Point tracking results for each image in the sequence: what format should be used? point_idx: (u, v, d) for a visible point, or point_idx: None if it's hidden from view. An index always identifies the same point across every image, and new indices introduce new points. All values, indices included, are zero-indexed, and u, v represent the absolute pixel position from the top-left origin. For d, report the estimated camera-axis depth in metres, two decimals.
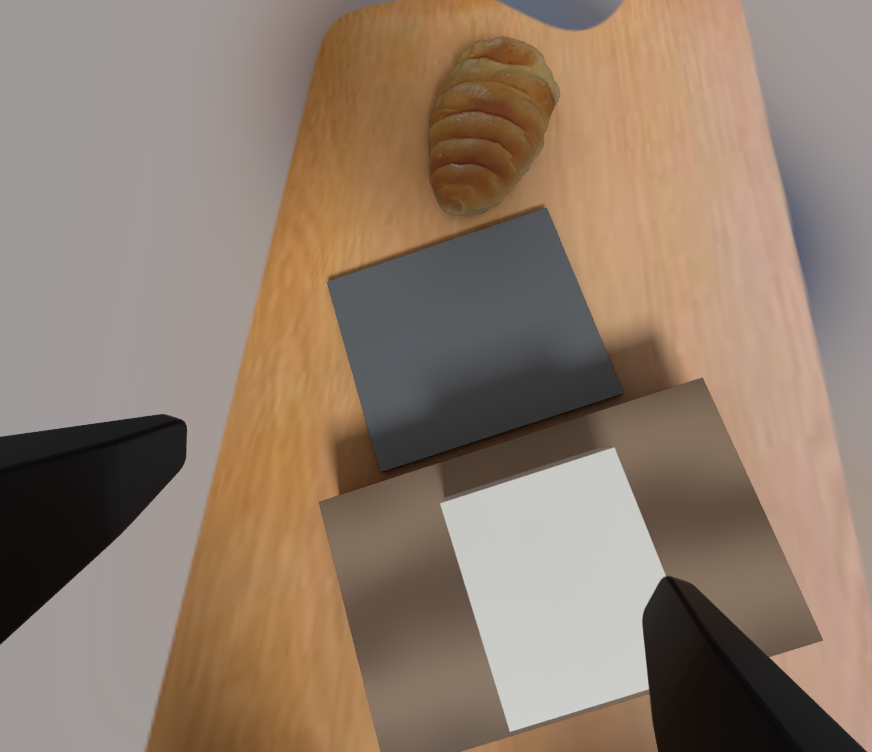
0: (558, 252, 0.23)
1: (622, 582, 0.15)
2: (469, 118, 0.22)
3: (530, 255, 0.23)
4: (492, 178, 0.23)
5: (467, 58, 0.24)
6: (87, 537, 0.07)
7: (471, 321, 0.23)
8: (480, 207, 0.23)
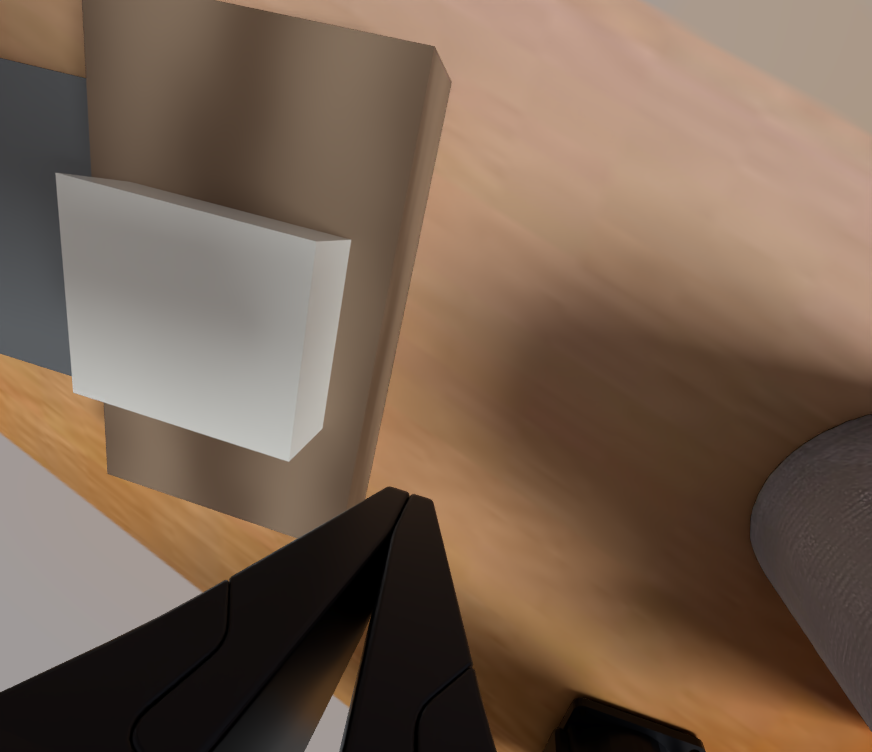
0: None
1: (198, 266, 0.12)
2: None
3: None
4: None
5: None
6: (356, 634, 0.06)
7: (18, 219, 0.19)
8: None
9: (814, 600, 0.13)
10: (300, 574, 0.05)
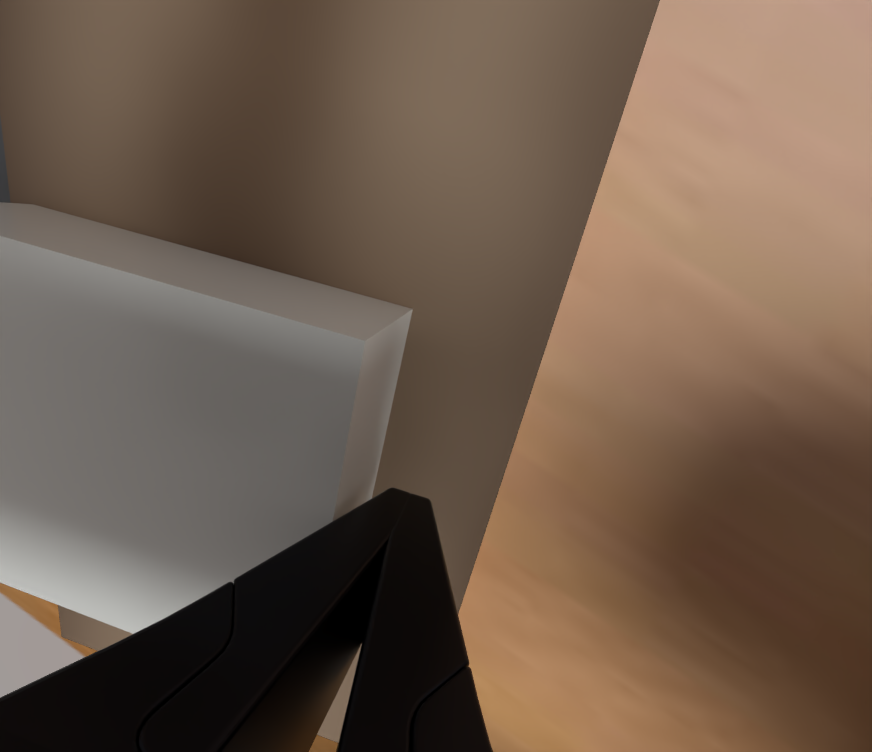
0: None
1: (130, 376, 0.06)
2: None
3: None
4: None
5: None
6: (359, 635, 0.06)
7: None
8: None
9: None
10: (304, 575, 0.05)
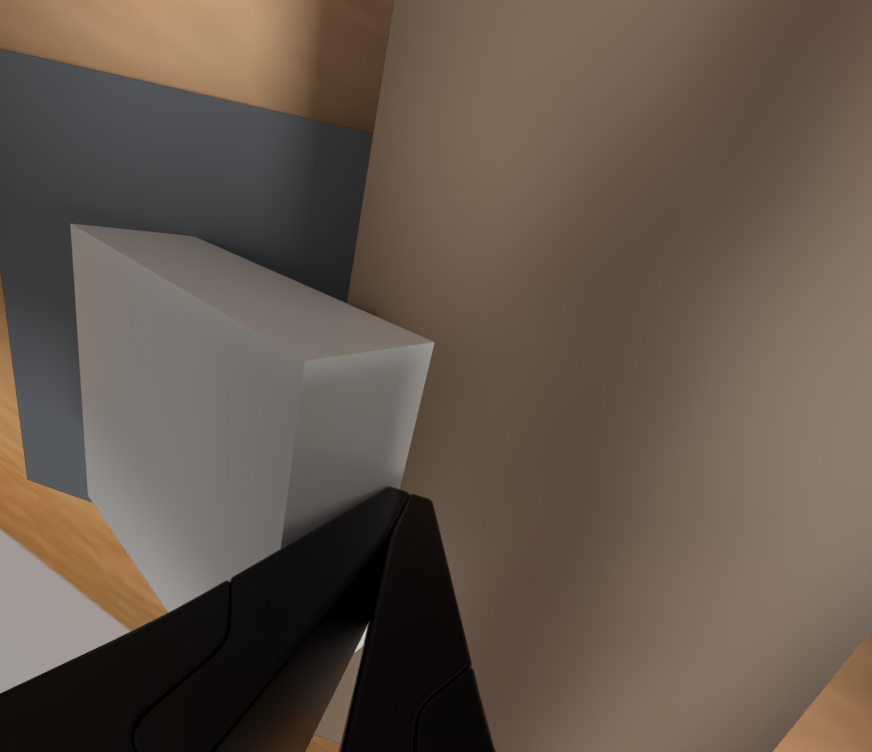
0: (68, 80, 0.10)
1: (168, 371, 0.07)
2: None
3: (60, 144, 0.11)
4: None
5: None
6: (356, 634, 0.06)
7: None
8: None
9: None
10: (301, 574, 0.05)
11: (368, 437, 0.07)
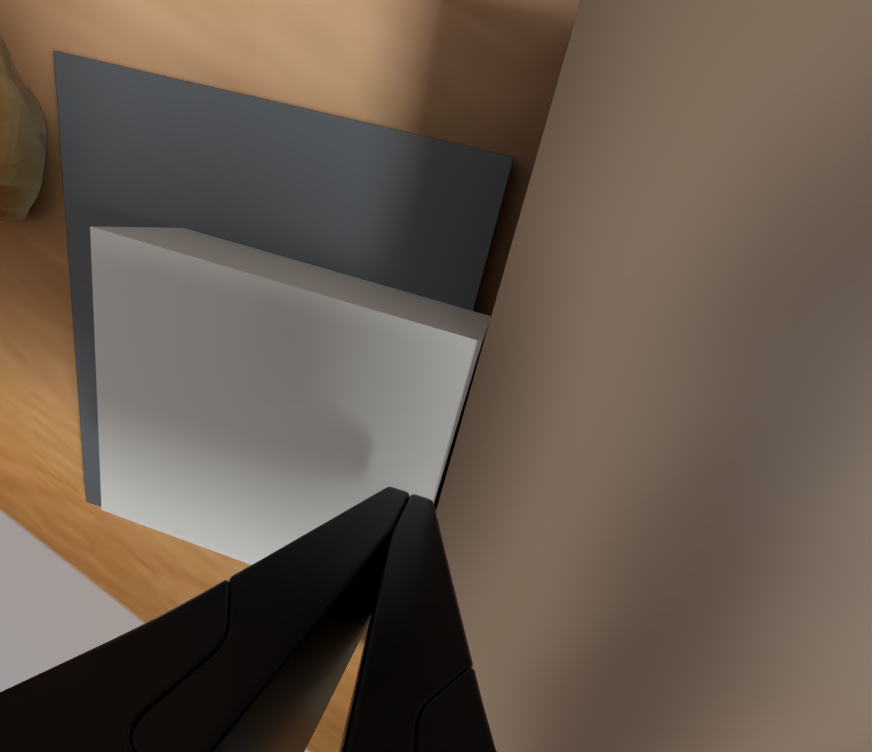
0: (158, 92, 0.10)
1: (294, 364, 0.09)
2: None
3: (145, 158, 0.10)
4: None
5: None
6: (355, 634, 0.06)
7: None
8: (9, 143, 0.10)
9: None
10: (300, 574, 0.05)
11: (469, 388, 0.09)
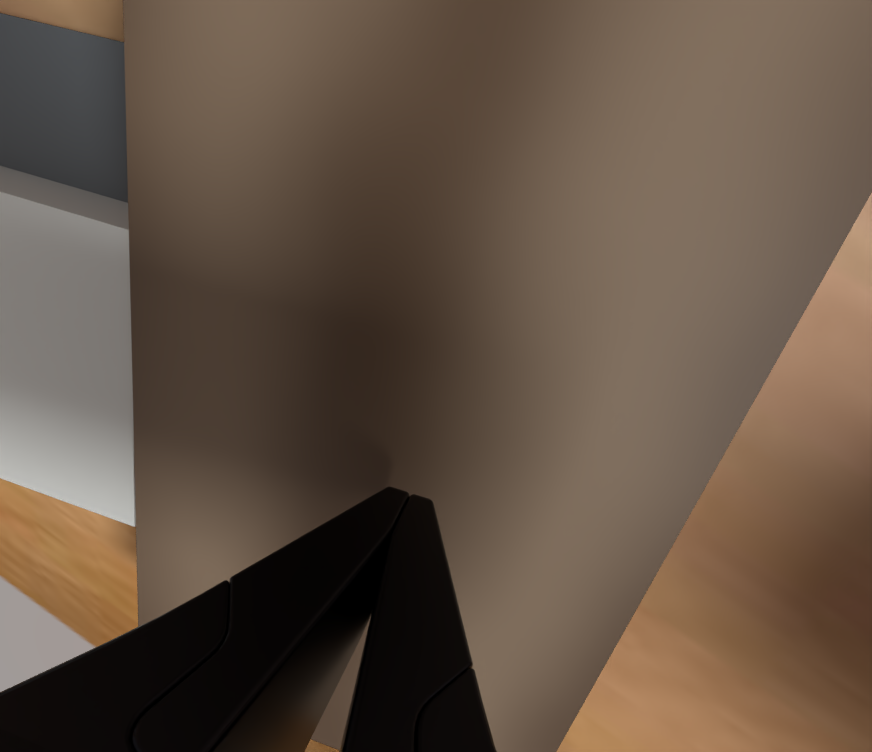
0: None
1: None
2: None
3: None
4: None
5: None
6: (356, 634, 0.06)
7: None
8: None
9: None
10: (300, 574, 0.05)
11: None
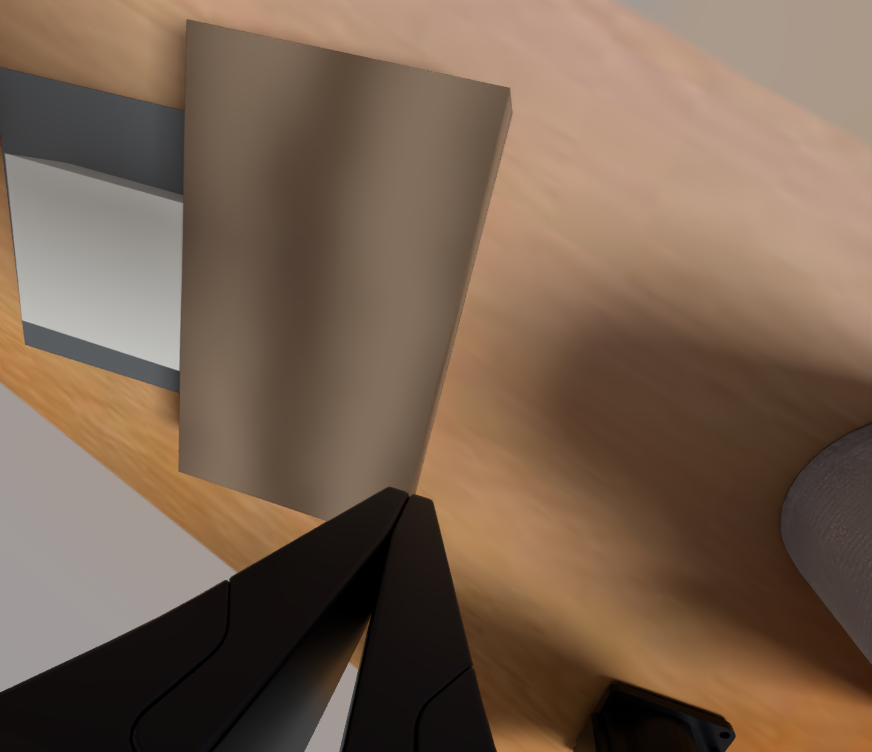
0: (47, 87, 0.19)
1: (106, 222, 0.17)
2: None
3: (43, 123, 0.19)
4: None
5: None
6: (356, 634, 0.06)
7: None
8: None
9: (847, 584, 0.15)
10: (300, 574, 0.05)
11: None
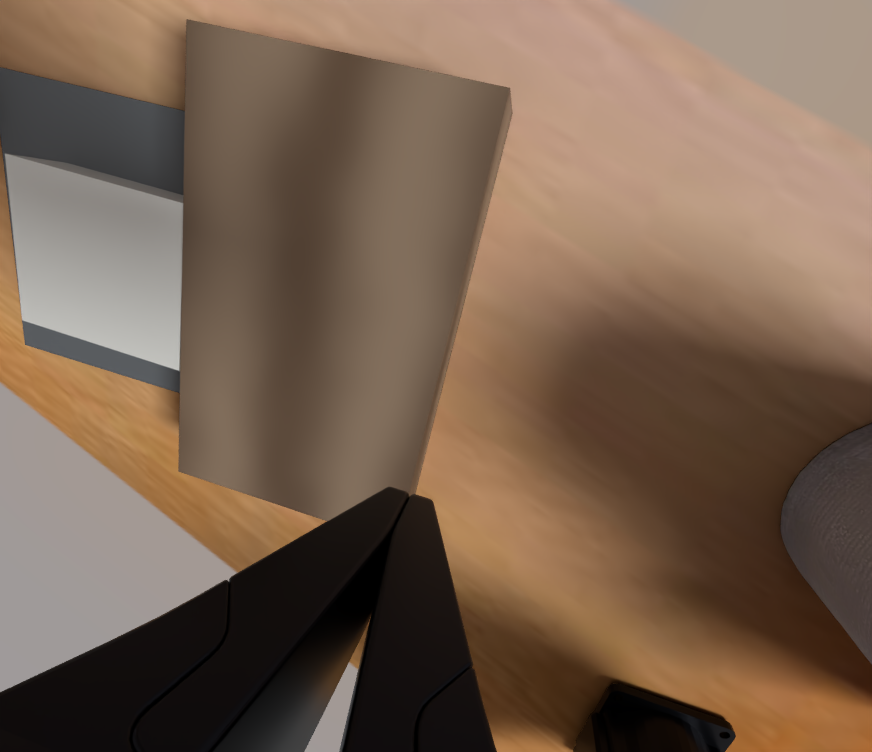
0: (47, 87, 0.19)
1: (106, 222, 0.17)
2: None
3: (43, 123, 0.19)
4: None
5: None
6: (356, 634, 0.06)
7: None
8: None
9: (847, 585, 0.15)
10: (300, 574, 0.05)
11: None
